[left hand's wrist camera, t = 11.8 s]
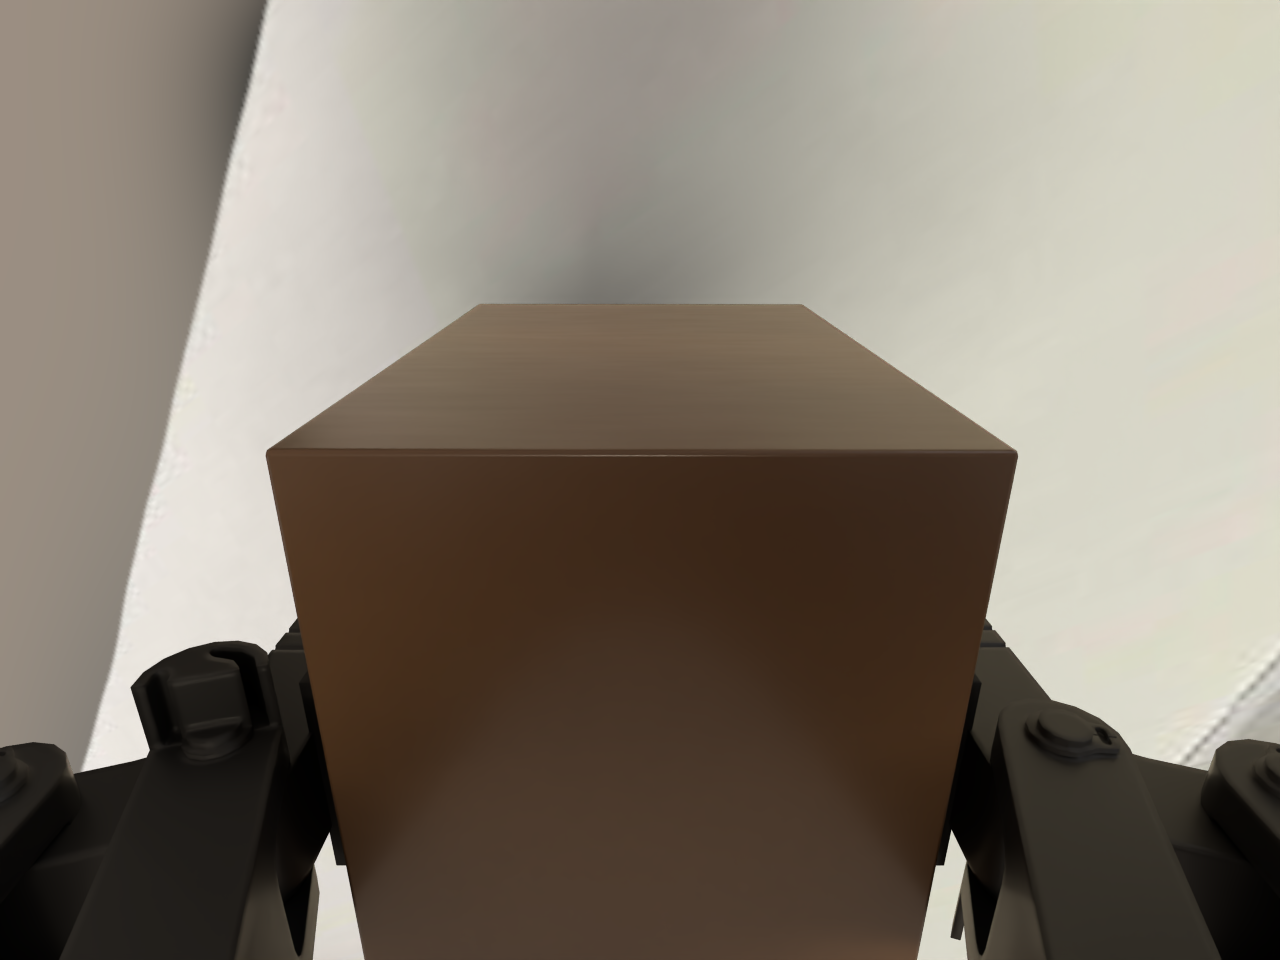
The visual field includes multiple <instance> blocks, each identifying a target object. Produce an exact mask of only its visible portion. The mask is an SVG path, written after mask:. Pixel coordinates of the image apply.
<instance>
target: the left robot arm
mask: <svg viewBox="0 0 1280 960" xmlns="http://www.w3.org/2000/svg"><path fill="white" fill-rule="evenodd" d="M131 691H132V694H133V697H134V700H135V704H136V707H137V710H138V713H139V716H140V720H141V723H142V726H143V729H144V733H145V736H146V739H147V742H148V746H149V749H150V751H149V753H148V756H147V758H143V759H139V760H136V761H132V762H127V763H123V764H118V765H113V766H109V767H104V768H99V769H94V770H90V771H85V772H80V773H76V774H73V771H72V768H71V766H70V763H69V760H68V758H67V755H66V753H65V752H64V751H63V750H61V749H60V748H58V747H57V746H56V745H54V744H46V743H36V742H32V743H25V744H19V745H12V746H6V747H3V748H0V960H313V951H314V941H315V932H316V922H317V912H318V903H319V886H318V880H317V875H316V870H315V866H314V863H315V861H316V859H317V857H318V855H319V853H320V851H321V848H322V846H323V844H324V842H325V840H326V838H327V836H328V834H329V832H330V836H331V841H332V846H333V851H334V855H335V860H336V865H346V862H345V857H344V852H343V847H342V841H341V836H340V831H339V826H338V821H337V816H336V811H335V806H334V801H333V796H332V791H331V785H330V780H329V775H328V770H327V765H326V760H325V755H324V750H323V745H322V740H321V735H320V729H319V724H318V719H317V714H316V709H315V704H314V699H313V694H312V689H311V684H310V678H309V673H308V668H307V663H306V658H305V653H304V648H303V643H302V638H301V633H300V628H299V622H298V618H297V619H296V621H295V622H294V623H293V624H292V626H291V627H290V628H289V633H285V634H284V636H283V637H282V638H281V639H280V641H279V642H278V643H277V644H276V648H275V650H272V651H271V652H270V653H269V654H267V652H266V651H264V650H263V649H262V648H261V647H259V646H258V645H257V644H252V643H247V642H242V641H224V642H213V643H209V644H204V645H200V646H196V647H192V648H188V649H186V650H184V651H181V652H179V653H176V654H174V655H172V656H169V657H167V658H165V659H163V660H161V661H160V662H158V663H157V664H155V665H154V666H152V667H151V668H149V669H148V670H146V671H145V672H143V673H142V675H141V676H140V677H139V678H138V679H137V680H136V682H135V683H134V684H133V685H132V686H131ZM951 829H952V831H953V833H954V835H955V838H956V840H957V842H958V844H959V846H960V848H961V850H962V852H963V854H964V856H965V858H966V860H967V861H966V866H965V870H964V875H963V879H962V884H961V888H960V893H959V897H958V902H957V906H956V911H955V915H954V920H953V925H952V931H951V938H954V939H958V940H961V936H962V931H963V927H964V930H965V939H966V949H967V958H968V960H1280V744H1276V743H1270V742H1264V741H1257V740H1251V739H1245V740H1235V741H1227V742H1226V743H1225V744H1223V745H1222V746H1220V747H1219V748H1218V749H1216V751H1215V754H1214V757H1213V759H1212V762H1211V765H1210V768H1209V770H1208V771H1205V770H1201V769H1196V768H1191V767H1187V766H1182V765H1177V764H1173V763H1168V762H1163V761H1158V760H1154V759H1149V758H1145V757H1142V756H1138V755H1134V754H1132V752H1131V750H1130V748H1129V747H1128V745H1127V744H1126V743H1125V741H1124V740H1123V738H1122V737H1121V736H1120V734H1119V733H1118V732H1117V731H1115V730H1114V729H1113V728H1111V727H1110V726H1109V725H1107V724H1106V723H1105V722H1104V721H1102V720H1101V719H1100V718H1098V717H1096V716H1094V715H1092V714H1090V713H1087V712H1085V711H1083V710H1081V709H1079V708H1077V707H1075V706H1071V705H1067V704H1064V703H1060V702H1056V701H1053V700H1051V699H1050V698H1049V696H1048V695H1047V694H1046V693H1045V691H1044V690H1043V689H1042V688H1041V686H1040V685H1039V684H1038V683H1037V681H1036V680H1035V679H1034V678H1033V677H1032V675H1031V674H1030V673H1029V672H1028V670H1027V669H1026V668H1025V667H1024V665H1023V664H1022V663H1021V662H1020V660H1019V659H1018V658H1017V657H1016V655H1015V654H1014V653H1013V652H1012V651H1011V649H1010V648H1009V647H1006V645H1005V642H1004V641H1003V639H1002V638H1001V637H1000V636H999V634H998V633H997V632H996V631H995V630H992V626H991V624H990V623H989V622H988V621H987V620H986V618H985V623H984V628H983V633H982V638H981V643H980V648H979V653H978V658H977V663H976V668H975V673H974V678H973V683H972V688H971V693H970V698H969V703H968V708H967V713H966V718H965V723H964V728H963V733H962V737H961V742H960V747H959V752H958V757H957V762H956V767H955V772H954V777H953V782H952V787H951V792H950V797H949V802H948V807H947V812H946V817H945V822H944V827H943V832H942V837H941V842H940V847H939V852H938V857H937V862H936V865H944V863H945V858H946V853H947V848H948V843H949V839H950V834H951Z"/></svg>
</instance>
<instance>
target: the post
mask: <svg viewBox="0 0 1280 960" xmlns="http://www.w3.org/2000/svg"><path fill="white" fill-rule="evenodd" d="M266 459H267V465H268V470H269V475H270V480H271V485H272V490H273V495H274V500H275V505H276V510H277V515H278V521H279V526H280V531H281V536H282V541H283V546H284V551H285V556H286V561H287V566H288V572H289V577H290V582H291V587H292V592H293V597H294V602H295V607H296V612H297V617H298V622H299V628H300V633H301V638H302V643H303V648H304V653H305V658H306V663H307V668H308V673H309V678H310V684H311V689H312V694H313V699H314V704H315V709H316V714H317V719H318V724H319V729H320V735H321V740H322V745H323V750H324V755H325V760H326V765H327V770H328V775H329V780H330V785H331V791H332V796H333V801H334V806H335V811H336V816H337V821H338V826H339V831H340V836H341V841H342V847H343V852H344V857H345V862H346V867H347V872H348V877H349V882H350V887H351V892H352V897H353V903H354V908H355V913H356V918H357V923H358V928H359V933H360V938H361V943H362V948H363V954H364V959H365V960H917V956H918V951H919V946H920V941H921V936H922V931H923V927H924V922H925V917H926V912H927V907H928V902H929V897H930V892H931V887H932V882H933V877H934V872H935V867H936V862H937V857H938V852H939V847H940V842H941V837H942V832H943V827H944V822H945V817H946V812H947V807H948V802H949V797H950V792H951V787H952V782H953V777H954V772H955V767H956V762H957V757H958V752H959V747H960V742H961V737H962V733H963V728H964V723H965V718H966V713H967V708H968V703H969V698H970V693H971V688H972V683H973V678H974V673H975V668H976V663H977V658H978V653H979V648H980V643H981V638H982V633H983V628H984V623H985V618H986V613H987V608H988V603H989V598H990V593H991V588H992V583H993V578H994V573H995V568H996V563H997V558H998V553H999V548H1000V544H1001V539H1002V534H1003V529H1004V524H1005V519H1006V514H1007V509H1008V504H1009V499H1010V494H1011V489H1012V484H1013V479H1014V474H1015V469H1016V464H1017V459H1018V454H1017V451H1016V450H1014V449H1013V448H1012V447H1010V446H1009V445H1007V444H1006V443H1004V442H1003V441H1001V440H1000V439H998V438H997V437H995V436H994V435H993V434H991V433H990V432H988V431H987V430H985V429H984V428H982V427H981V426H979V425H978V424H976V423H975V422H973V421H972V420H971V419H969V418H968V417H966V416H965V415H963V414H962V413H960V412H959V411H957V410H956V409H954V408H953V407H952V406H950V405H949V404H947V403H946V402H944V401H943V400H941V399H940V398H938V397H937V396H935V395H934V394H933V393H931V392H930V391H928V390H927V389H925V388H924V387H922V386H921V385H919V384H918V383H916V382H915V381H913V380H912V379H911V378H909V377H908V376H906V375H905V374H903V373H902V372H900V371H899V370H897V369H896V368H894V367H893V366H892V365H890V364H889V363H887V362H886V361H884V360H883V359H881V358H880V357H878V356H877V355H875V354H874V353H873V352H871V351H870V350H868V349H867V348H865V347H864V346H862V345H861V344H859V343H858V342H856V341H855V340H853V339H852V338H851V337H849V336H848V335H846V334H845V333H843V332H842V331H840V330H839V329H837V328H836V327H834V326H833V325H832V324H830V323H829V322H827V321H826V320H824V319H823V318H821V317H820V316H818V315H817V314H815V313H814V312H813V311H811V310H810V309H808V308H807V307H805V306H804V305H802V304H479V305H477V306H476V307H474V308H473V309H472V310H470V311H469V312H467V313H466V314H464V315H463V316H461V317H460V318H458V319H457V320H456V321H454V322H453V323H451V324H450V325H448V326H447V327H445V328H444V329H442V330H441V331H440V332H438V333H437V334H435V335H434V336H432V337H431V338H429V339H428V340H426V341H425V342H424V343H422V344H421V345H419V346H418V347H416V348H415V349H413V350H412V351H410V352H409V353H408V354H406V355H405V356H403V357H402V358H400V359H399V360H397V361H396V362H394V363H393V364H392V365H390V366H389V367H387V368H386V369H384V370H383V371H381V372H380V373H378V374H377V375H376V376H374V377H373V378H371V379H370V380H368V381H367V382H365V383H364V384H362V385H361V386H360V387H358V388H357V389H355V390H354V391H352V392H351V393H349V394H348V395H346V396H345V397H344V398H342V399H341V400H339V401H338V402H336V403H335V404H333V405H332V406H330V407H329V408H328V409H326V410H325V411H323V412H322V413H320V414H319V415H317V416H316V417H314V418H313V419H312V420H310V421H309V422H307V423H306V424H304V425H303V426H301V427H300V428H298V429H297V430H296V431H294V432H293V433H291V434H290V435H288V436H287V437H285V438H284V439H282V440H281V441H280V442H278V443H277V444H275V445H274V446H272V447H271V448H269V449H268V450H267V452H266Z"/></svg>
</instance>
